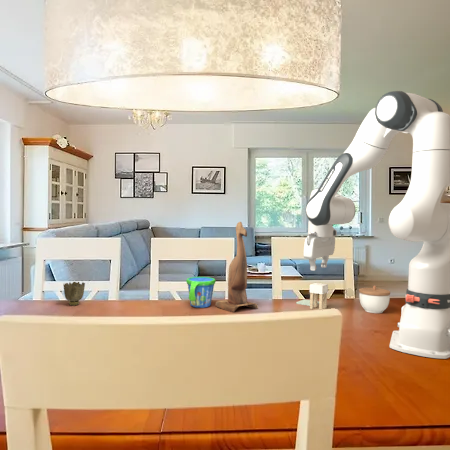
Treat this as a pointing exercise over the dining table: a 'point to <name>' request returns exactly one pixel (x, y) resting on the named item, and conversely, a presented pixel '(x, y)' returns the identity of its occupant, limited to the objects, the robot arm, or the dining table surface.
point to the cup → (74, 292)
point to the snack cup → (200, 291)
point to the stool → (322, 291)
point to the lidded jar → (374, 299)
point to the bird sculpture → (237, 276)
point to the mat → (304, 302)
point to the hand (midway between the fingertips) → (318, 268)
